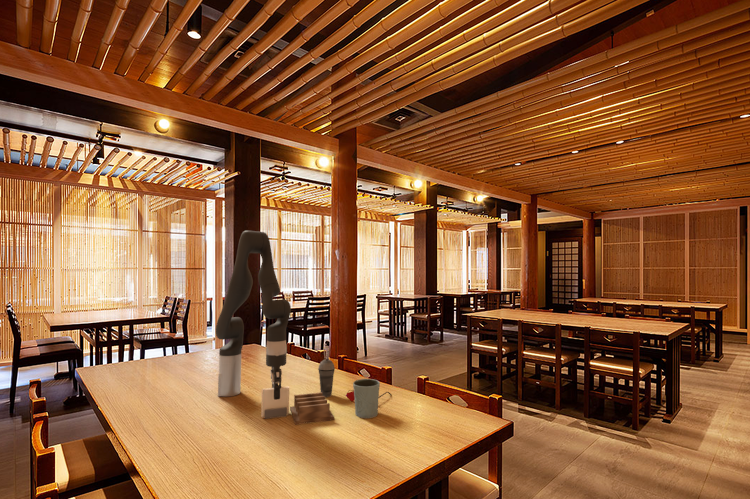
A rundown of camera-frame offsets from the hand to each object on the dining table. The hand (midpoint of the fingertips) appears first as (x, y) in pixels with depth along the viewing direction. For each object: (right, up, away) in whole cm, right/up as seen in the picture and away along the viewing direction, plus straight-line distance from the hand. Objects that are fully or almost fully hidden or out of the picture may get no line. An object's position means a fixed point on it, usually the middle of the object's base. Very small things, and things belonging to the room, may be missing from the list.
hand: (275, 395), depth 147 cm
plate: (0, -7, 0) cm, 7 cm away
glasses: (+35, -9, +20) cm, 41 cm away
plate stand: (0, -7, 0) cm, 7 cm away
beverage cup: (+16, -9, +22) cm, 29 cm away
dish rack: (+13, -7, 0) cm, 15 cm away
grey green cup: (+34, -8, +1) cm, 35 cm away
